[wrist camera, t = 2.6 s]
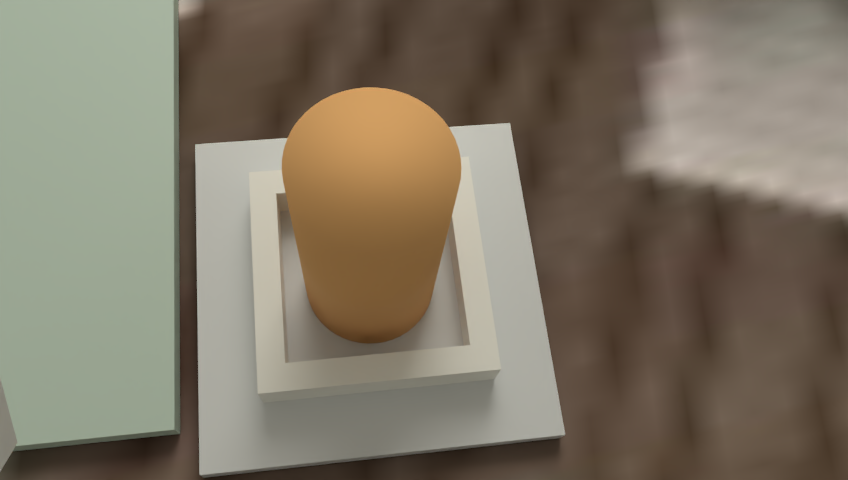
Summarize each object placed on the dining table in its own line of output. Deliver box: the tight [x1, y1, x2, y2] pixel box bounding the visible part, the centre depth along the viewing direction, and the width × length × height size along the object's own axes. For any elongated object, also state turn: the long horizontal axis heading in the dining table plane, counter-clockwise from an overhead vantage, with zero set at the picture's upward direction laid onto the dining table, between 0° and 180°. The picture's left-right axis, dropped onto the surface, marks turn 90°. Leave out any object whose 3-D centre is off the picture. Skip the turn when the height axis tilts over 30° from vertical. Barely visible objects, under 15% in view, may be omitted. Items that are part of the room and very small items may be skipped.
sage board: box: [0, 0, 180, 451], centre depth 39 cm, size 24×14×1 cm, turn 7°
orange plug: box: [282, 88, 461, 344], centre depth 32 cm, size 6×6×12 cm
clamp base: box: [195, 123, 565, 478], centre depth 37 cm, size 16×16×3 cm
